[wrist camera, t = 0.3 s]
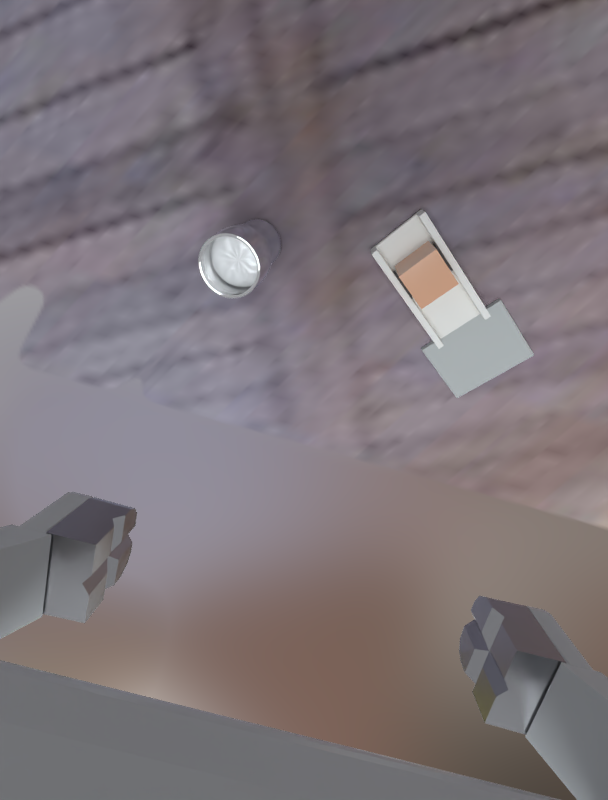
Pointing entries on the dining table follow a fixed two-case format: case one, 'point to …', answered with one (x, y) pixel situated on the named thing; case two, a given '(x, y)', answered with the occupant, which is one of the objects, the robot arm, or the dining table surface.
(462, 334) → the pad
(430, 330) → the chute
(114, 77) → the dining table surface
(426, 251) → the block
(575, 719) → the robot arm
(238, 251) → the beer glass
